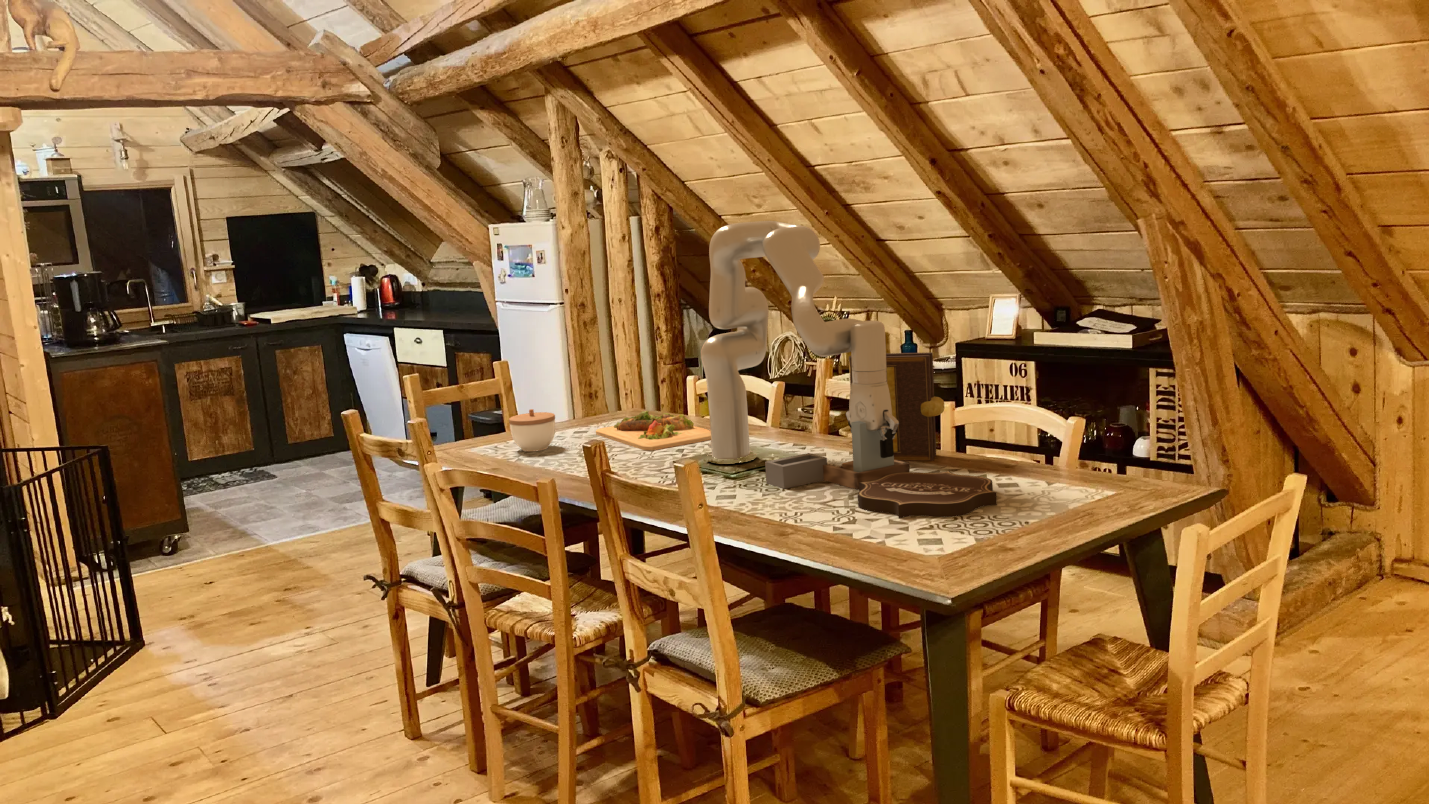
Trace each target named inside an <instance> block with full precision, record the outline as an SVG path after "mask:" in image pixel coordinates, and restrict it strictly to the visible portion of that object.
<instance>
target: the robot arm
mask: <svg viewBox="0 0 1429 804" xmlns="http://www.w3.org/2000/svg"><path fill="white" fill-rule="evenodd" d="M708 251H709V252H708V253H709V254H708V256H709V257H708V258H709V264H710V279H709V281H710V282H709V298H708V299H709V301H708V302H709V303H708V316H709V318H708V319H709V320H710V323H711V325H713V327H714V328H716V329H719V330H730V329H731V330H732V329H737V331H730V332H726V333H725V332H724V333H720V334H719V333H718V334H716V335H713V336H711V337H709V338H708V339H706V340H705V341H704V343H703V345H702V347H701V350H700V358H701V362H702V367H703V371H704V374H705V375H704V376H705V379H706V389H707V400H708V415H709V428H710V429H709V430H710V431H711V440H710V441H709V442H708V444H707V446H708V448H711V453H710V454H707V455H706V456H708V455H712V457H715V458H717V459H734V460H738V459H737V458H740V457H746V456H748V455H751V454H750V452H754V451H752V450H751V447H750V446H751V445H750V432H749V429H750V428H749V414H748V401H747V400H748V399H747V388H746V384H745V382H744V380H743V378H742V376H741V374H740V373H739V371H741V370H745V369H746V370H747V369H749V368H753V367H757V366H759V365H760V364H761V363H762V362H763V361H764V360H765V359H764V358H765V357H766V354H767V345H768V331H769V328H768V327H769V304H768V300H767V298H766V296H765V294H764V293H763V292H762V290H760V289H759V288H756V287H753V286H746V279H747V277H746V275H747V274H746V269H745V266H744V264H743V263H742V261H741V260H743V259H744V260H745V259H753V258H762V257H766V258H767V259H766V260H768V261H769V263H770V265H771V266H772V268H773V269H774V271H775V273H776V274H777V275H778V277H779V279H780V280H781V281H782V283H783V284H784V286H785V288H786V290H787V291H788V293H789V294H790V296H791V307H790V308H791V318H792V321H793V326H794V328H795V330H796V332H797V333H798V335H799V336H800V338H801V339H802V341H803V343H805V345H806V346H807V348H808V349H809V350H810V351H811V352H812V353H813V354H815V355H817V356H819V357H822V358H823V357H831V356H832V357H833V356H836V355H842V354H846V353H847V354H848V353H851V355H850V356H851V357H852V377H853V383H851V389H849V398H848V399H849V402H848V403H849V404H848V405H849V406H848V407H849V409H848V410H847V411H846V413H845V416H846V418H847V421H848V426H849V429H850V433H851V434H852V428H851V422H855V421H859V422H864V423H866V429H867V430H869V431H876V430H877V431H878V433H879V434H880V436H881V438H882V440H880V456H881V458H887V457H892V456H893V455H894V450H893V439H894V438H895V434H896V433H897V428H898V425H899V421H898V420H897V419H896V418H895V417H894V416H893V415H892V408H891V399H890V393H889V388H888V384H887V365H886V353H887V350H886V349H887V347H886V346H887V344H886V343H887V342H886V328H885V324H884V323H883V322H882V321H880V320H860V319H855V318H842V319H834V320H829V321H825V320H824V319H823V318H822V316H821V314H820V313H819V312H818V310H817V308H816V306H815V302H814V295H815V294H816V293H817V292H818V291H819V290H820V289H821V287H822V286H823V284H824V281H825V277H824V274H823V272H822V271H821V269H819V267H818V265H817V264H816V263H815V261H814V259H816V258H817V257H818V255H819V253H820V251H821V243H820V239H819V236H818V235H817V234H816V232H815V231H814V230H813V229H812V228H810V227H808V226H805V225H801V224H794V223H788V222H782V221H776V220H759V221H743V222H736V223H734V222H733V223H729V224H726V225H723V226H722V227H720V228H718V229H716V231H715V232H714V234H713V235H712V236H711V238H710V242H709V250H708ZM883 430H886V431H887V432H886V433H885V432H884V431H883ZM752 455H753V454H752ZM755 455H757V453H756V454H755Z"/></svg>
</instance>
